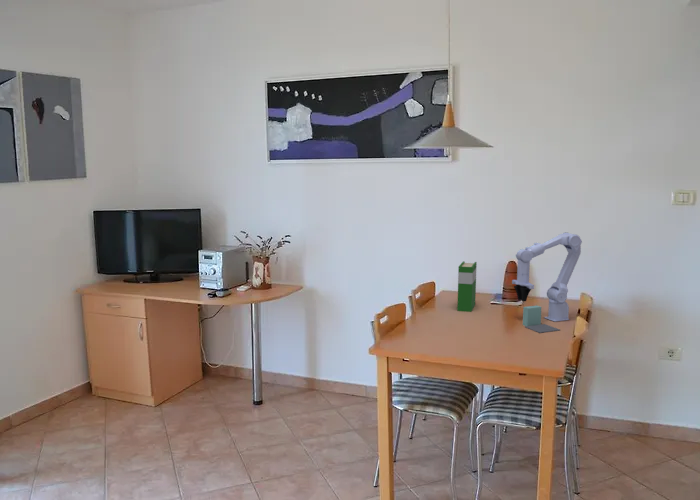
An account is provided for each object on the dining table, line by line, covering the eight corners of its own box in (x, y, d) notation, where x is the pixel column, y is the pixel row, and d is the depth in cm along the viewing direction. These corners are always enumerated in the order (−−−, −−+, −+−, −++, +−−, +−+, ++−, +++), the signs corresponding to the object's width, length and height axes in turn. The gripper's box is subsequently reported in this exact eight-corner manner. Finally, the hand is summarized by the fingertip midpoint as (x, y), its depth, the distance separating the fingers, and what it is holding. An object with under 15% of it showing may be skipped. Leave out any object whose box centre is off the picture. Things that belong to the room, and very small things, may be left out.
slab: (535, 323, 300) (536, 305, 299) (540, 325, 296) (541, 307, 295) (522, 324, 297) (523, 306, 296) (527, 326, 293) (528, 308, 292)
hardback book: (461, 303, 341) (463, 261, 337) (475, 304, 338) (476, 262, 335) (457, 310, 324) (458, 266, 321) (471, 312, 322) (472, 267, 318)
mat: (544, 324, 297) (544, 323, 297) (560, 330, 287) (560, 329, 287) (524, 327, 292) (524, 326, 292) (539, 333, 282) (539, 332, 282)
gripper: (507, 271, 306) (506, 298, 308) (526, 276, 292) (524, 304, 294) (519, 270, 308) (517, 297, 310) (538, 275, 295) (536, 303, 297)
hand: (522, 300), depth 302 cm, fingers closed
